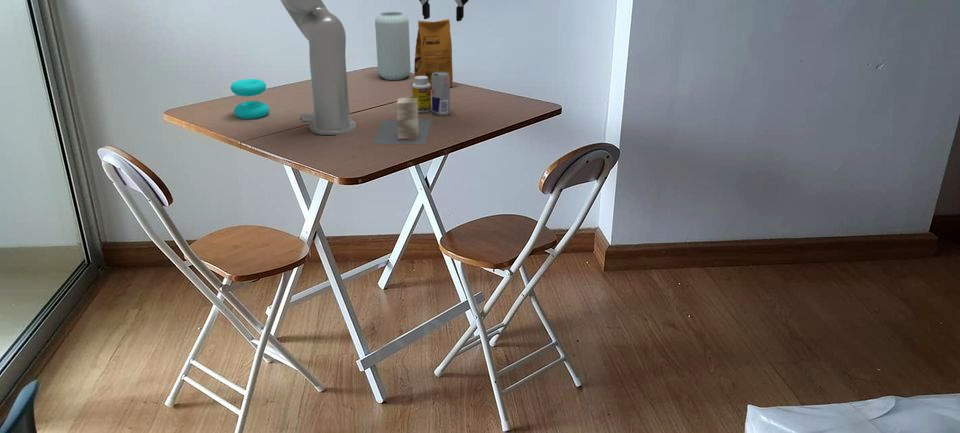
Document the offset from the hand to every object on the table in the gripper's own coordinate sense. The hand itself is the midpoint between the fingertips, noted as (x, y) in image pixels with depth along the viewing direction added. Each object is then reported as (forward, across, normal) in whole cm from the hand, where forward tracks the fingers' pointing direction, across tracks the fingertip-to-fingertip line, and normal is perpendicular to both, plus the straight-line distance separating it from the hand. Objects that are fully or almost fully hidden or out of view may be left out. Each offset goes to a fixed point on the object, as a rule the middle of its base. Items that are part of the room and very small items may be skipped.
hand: (442, 19), depth 207 cm
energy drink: (+28, -1, +2) cm, 28 cm away
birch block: (+28, -2, -23) cm, 36 cm away
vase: (+28, -33, +40) cm, 59 cm away
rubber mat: (+28, -5, -19) cm, 34 cm away
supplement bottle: (+28, -8, +3) cm, 29 cm away
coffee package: (+28, -15, +32) cm, 45 cm away
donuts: (+29, -55, -16) cm, 64 cm away
